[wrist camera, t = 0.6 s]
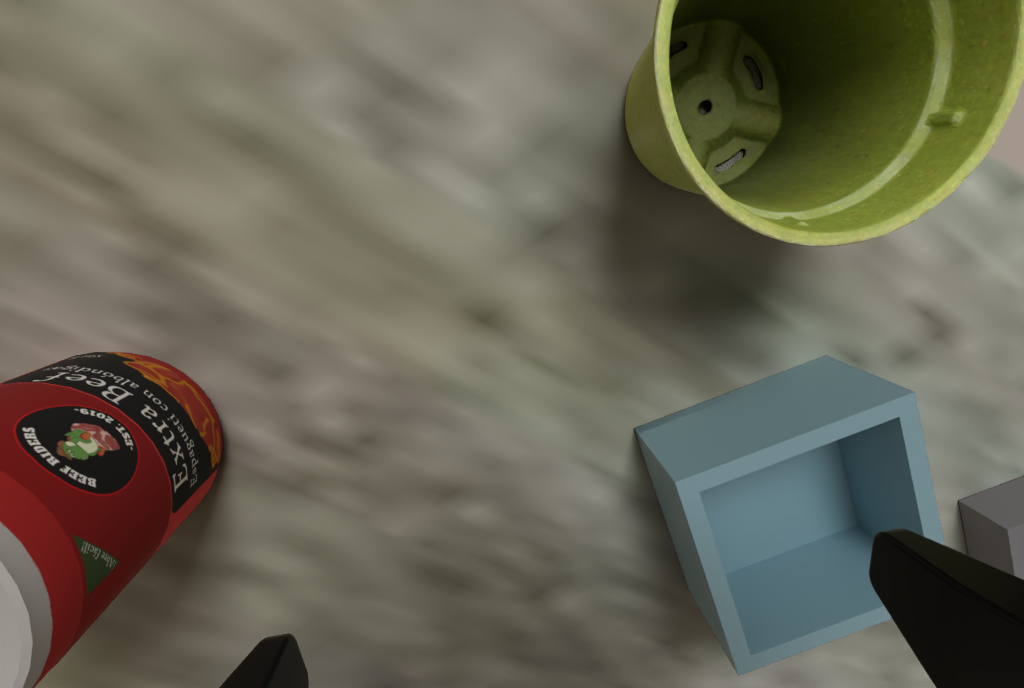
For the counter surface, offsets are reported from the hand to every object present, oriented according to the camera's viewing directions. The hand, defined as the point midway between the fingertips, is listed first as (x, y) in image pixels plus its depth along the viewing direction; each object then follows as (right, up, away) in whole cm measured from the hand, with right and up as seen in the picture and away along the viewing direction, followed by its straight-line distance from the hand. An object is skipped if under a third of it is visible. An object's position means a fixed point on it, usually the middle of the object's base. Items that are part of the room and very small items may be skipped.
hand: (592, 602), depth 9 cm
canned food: (-17, 0, +15) cm, 22 cm away
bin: (+10, -2, +17) cm, 20 cm away
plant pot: (+6, +13, +13) cm, 20 cm away
